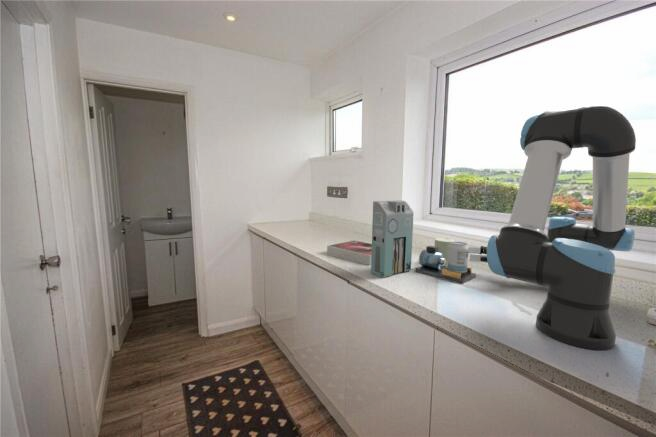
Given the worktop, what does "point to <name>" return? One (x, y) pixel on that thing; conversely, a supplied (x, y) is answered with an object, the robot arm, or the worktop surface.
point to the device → (391, 238)
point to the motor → (440, 266)
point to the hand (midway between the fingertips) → (466, 253)
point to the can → (444, 247)
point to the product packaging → (352, 251)
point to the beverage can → (458, 257)
